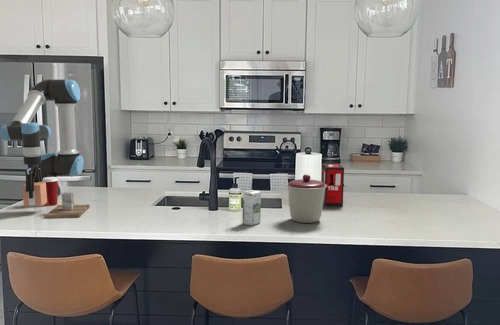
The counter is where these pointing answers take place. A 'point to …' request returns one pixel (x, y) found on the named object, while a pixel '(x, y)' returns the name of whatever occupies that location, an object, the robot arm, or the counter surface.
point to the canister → (306, 199)
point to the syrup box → (251, 207)
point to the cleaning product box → (333, 183)
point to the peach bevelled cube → (36, 194)
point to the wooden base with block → (67, 208)
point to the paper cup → (51, 190)
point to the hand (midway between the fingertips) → (35, 202)
